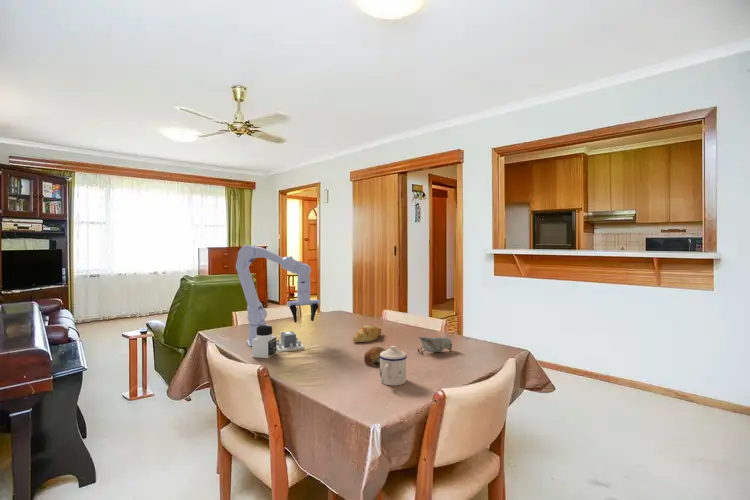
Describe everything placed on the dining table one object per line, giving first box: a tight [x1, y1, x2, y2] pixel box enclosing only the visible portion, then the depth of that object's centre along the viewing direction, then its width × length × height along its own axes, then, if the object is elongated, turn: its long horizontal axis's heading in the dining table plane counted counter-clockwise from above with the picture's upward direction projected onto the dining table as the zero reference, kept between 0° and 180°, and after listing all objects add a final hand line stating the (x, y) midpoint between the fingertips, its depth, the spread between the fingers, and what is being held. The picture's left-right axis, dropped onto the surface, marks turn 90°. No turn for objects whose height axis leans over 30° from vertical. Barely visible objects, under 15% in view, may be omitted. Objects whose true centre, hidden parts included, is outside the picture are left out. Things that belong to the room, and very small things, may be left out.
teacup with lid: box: [379, 345, 408, 387], centre depth 129 cm, size 12×9×12 cm
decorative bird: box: [417, 336, 453, 356], centre depth 163 cm, size 5×16×8 cm, turn 114°
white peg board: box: [276, 337, 305, 353], centre depth 170 cm, size 12×11×3 cm
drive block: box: [280, 330, 297, 348], centre depth 170 cm, size 7×5×5 cm
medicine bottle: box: [251, 324, 277, 359], centre depth 158 cm, size 7×7×12 cm
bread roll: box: [363, 345, 387, 367], centre depth 150 cm, size 10×10×8 cm
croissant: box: [352, 323, 382, 343], centre depth 184 cm, size 21×10×8 cm, turn 146°
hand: (303, 321), depth 176 cm, fingers open, 7 cm apart
